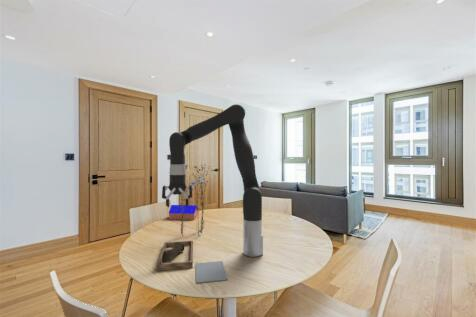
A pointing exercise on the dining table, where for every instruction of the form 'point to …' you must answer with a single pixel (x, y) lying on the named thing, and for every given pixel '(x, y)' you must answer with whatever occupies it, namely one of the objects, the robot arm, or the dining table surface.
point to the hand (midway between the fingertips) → (177, 206)
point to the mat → (210, 272)
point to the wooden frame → (175, 264)
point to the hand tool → (172, 252)
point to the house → (183, 212)
